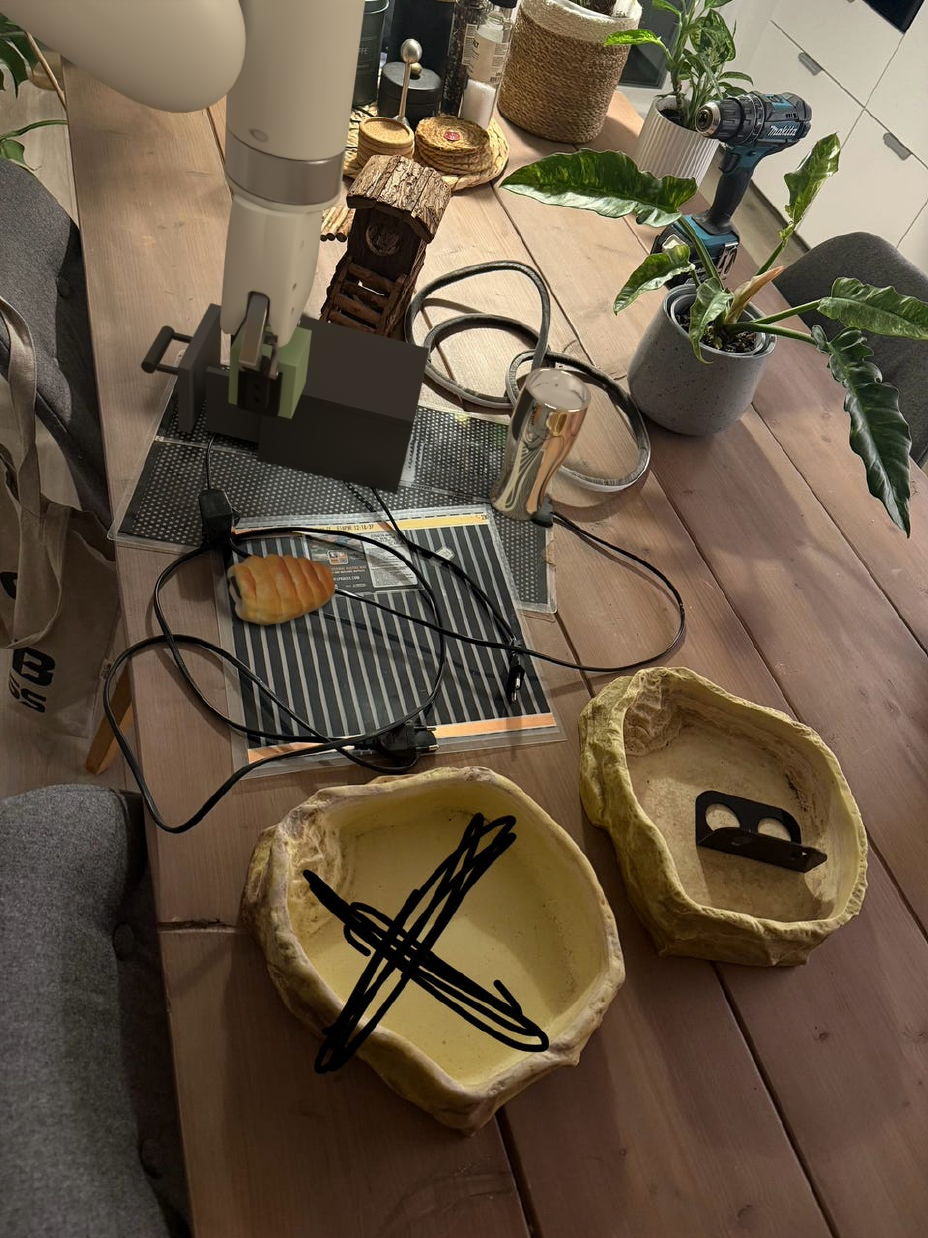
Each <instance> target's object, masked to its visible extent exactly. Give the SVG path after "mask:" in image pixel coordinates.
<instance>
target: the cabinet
mask: <svg viewBox="0 0 928 1238" xmlns="http://www.w3.org/2000/svg"><path fill="white" fill-rule="evenodd" d="M299 327H300V328H304V329H307V330H311V331H312V332H311V341H310V349H309V358H308V366H307V375H306V383H305V385H304V388H303V390H302V393H301V395H300V398H299V401H298V403H297V406H296V408H295V411H294V413H293V416H292V418H291V419H290V418H286V417H282V416H277V417H274V418H273V417H269V416H265V415H261V420H260V434H259V443H258V448H257V449H258V450H257V461H258V462H263V463H267V464H271V465H276V466H278V467H284V468H287V469H292V470H297V471H301V472H305V473H309V474H313V475H317V476H320V477H325V478H329V479H333V480H337V481H341V482H342V481H343V482H345V483H346V482H347V483H351V484H355V485H359V486H363V487H367V488H371V489H376V490H379V491H384V492H387V493H392V494H398V492H399V488H400V483H401V479H402V475H403V472H404V466H405V462H406V459H407V454H408V450H409V445H410V441H411V439H412V434H413V429H414V424H415V420H416V415H417V411H418V406H419V401H420V397H421V391H422V388H423V387H422V386H423V383H424V382H423V381H424V377H425V373H426V367H427V362H428V358H429V352H430V348H429V347H425V346H421V345H418V344H413V343H410V342H406V341H403V340H398V339H395V338H391V337H387V336H383V335H379V334H375V333H372V332H368V331H364V330H361V329H356V328H352V327H348V326H344V325H342V324H341V325H340V324H337V323H333V322H329V321H325V320H321V319H318V318H314V317H310V316H306V315H302V314H301V321H300V325H299Z"/></svg>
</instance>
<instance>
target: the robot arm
mask: <svg viewBox="0 0 928 1238" xmlns="http://www.w3.org/2000/svg"><path fill="white" fill-rule="evenodd" d="M365 5H366V0H0V14H2V15H3V16H4V17H6V18H7V19H8V20H10V21H11V22H12V23H14V24H15V25H16V26H18V27H19V28H21V29H22V30H23V31H25V32H26V33H27V34H28V35H30V36H32V37H33V38H34V39H36V40H38V41H39V42H41V43H42V44H43V45H45V46H46V47H48V48H50V49H51V50H52V51H54V52H55V53H57V54H59V55H60V56H61V57H63V58H65V59H66V60H68V61H69V62H71V63H72V64H73V65H75V66H76V67H78V68H79V69H81V70H82V71H84V72H86V73H87V74H89V75H90V76H91V77H93V78H94V79H96V80H98V81H99V82H101V83H102V84H104V85H105V86H106V87H108V88H110V89H111V90H113V91H114V92H117V93H118V94H120V95H121V96H124V97H126V98H128V99H129V100H131V101H133V102H135V103H137V104H140V105H143V106H145V107H148V108H150V109H153V110H155V111H160V112H166V113H169V114H170V113H171V114H189V113H193V112H194V113H195V112H199V111H203V110H205V109H207V108H210V107H211V106H214V105H216V104H217V103H218V102H220V100H222V99H223V98H225V129H224V130H225V131H224V132H225V135H224V137H225V138H224V174H223V175H224V180H225V182H226V183H227V185H228V186H229V188H230V189H231V190H232V191H233V196H232V202H231V206H230V207H231V208H230V212H229V219H228V226H227V234H226V241H225V251H224V252H225V253H224V261H223V263H224V264H223V275H222V288H221V289H222V290H221V304H220V306H221V316H220V327H221V332H222V333H223V334H225V335H230V336H231V335H235V333H236V332H237V330H238V328H239V327H240V325H241V323H242V321H243V320H244V325H243V333H242V342H241V350H240V355H239V360H238V365H239V369H238V391H237V406H238V407H239V408H240V409H242V410H246V411H250V412H254V413H258V414H261V415H265V416H269V417H273V418H274V417H277V416H278V413H279V410H280V399H281V388H282V377H283V373H282V372H279V366H280V359H281V352H282V347H283V346H285V345H286V344H288V342H289V341H290V339H291V337H292V335H293V332H294V330H295V328H296V327H299V325H300V321H301V315H302V314H303V312H304V310H305V308H306V305H307V303H308V300H309V298H310V295H311V292H312V289H313V287H314V282H315V277H316V272H317V266H318V261H319V251H320V246H321V245H320V244H321V236H322V226H323V215H324V211H327V210H329V209H331V208H332V207H334V206H335V205H336V204H338V202H339V200H340V198H341V193H342V184H343V176H344V169H345V168H344V167H345V161H346V153H347V146H348V138H349V131H350V130H349V129H350V123H351V116H352V115H351V114H352V106H353V100H354V99H353V98H354V93H355V92H354V91H355V84H356V75H357V69H358V68H357V67H358V60H359V52H360V44H361V38H362V37H361V35H362V29H363V20H364V14H365ZM267 326H268V327H271V329H272V332H273V333H272V332H268V331H266V328H267ZM263 344H267V345H270V346H272V352H271V360H270V359H269V358H268V356H264V355H263V354H262V347H263Z"/></svg>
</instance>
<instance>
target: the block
mask: <svg viewBox="0 0 928 1238" xmlns="http://www.w3.org/2000/svg"><path fill="white" fill-rule="evenodd" d="M243 325H244V323H243ZM243 325H242V327H241V329H240V331H239V333H238V335H237V337H236V339H235V341H234V343H233V345H232V347H231V349H230V348H229V368H230V370H229V371H230V375H229V403H232V404H236V405H237V391H238V369H239V365H238V360H239V355H240V350H241V342H242V333H243ZM266 331H268V332H272V329H271V327H268V326H267V328H266ZM311 332H312V331H311V330H307V329H304V328H300V327H296V328H295V330H294V332H293V335H292V337H291V339H290V341H289V342H288V344H286V345H285V346H283V347H282V352H281V359H280V366H279V372H282V373H283V377H282V388H281V399H280V410H279V413H278V416H282V417H286V418H290V419H291V418H292V416H293V413H294V411H295V408H296V406H297V403H298V401H299V398H300V395H301V393H302V390H303V388H304V385H305V383H306V375H307V366H308V358H309V349H310V341H311ZM272 333H273V332H272ZM271 352H272V346H270V345H267V344H263V347H262V354H263V355H264V356H268V358H269V359H270V360H271Z"/></svg>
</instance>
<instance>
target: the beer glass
mask: <svg viewBox="0 0 928 1238" xmlns="http://www.w3.org/2000/svg"><path fill="white" fill-rule="evenodd" d="M591 393H592V392H591V391H590V389H589V387H588V386H587V384H586V383H585V382H583V380H581V379H580V378H579V377H578V376H576V375H575V374H573V373H571V372H569V371H567V370H564V369H560V368H556V367H539V368H536V369H535V368H534V369H533V370H532V371H530V372H529V373H528V374H527V375H526V378H525V381H524V383H523V386H522V388H521V390H520V392H519V394H518V396H517V399H516V401H515V403H514V406H513V409H512V412H511V415H510V418H509V422H508V425H507V426H508V427H507V432H506V439H505V446H504V455H503V461H502V466H501V469H500V471H499V474H498V476H497V477H496V479H495V480H494V481H493V483H492V486H491V487H490V488H489V494H488V495H489V496H488V497H489V501H490V503H491V505H492V506H493V508H494V509H495V510H496V511H497V512H498V513H499V514H501V515H503V516H504V517H506V518H508V519H512V520H514V521H515V520H516V521H531V520H534V519H536V518H537V517H539V516H541V515H540V514H542V512H543V510H542V509H544V507H543V506H545V500H546V494H547V491H548V487H549V485H550V483H551V482H552V480H553V478H554V477H555V476H556V474H557V472H558V471H559V469H560V468H561V467H562V465H563V464H564V462H565V461H566V460H567V459H568V456H569V455H570V453H571V452H572V450H573V448H574V446H575V444H576V442H577V440H578V437H579V436H580V433H581V430H582V428H583V425H584V422H585V419H586V416H587V412H588V410H589V406H590V404H591V401H592V394H591ZM541 511H542V512H541Z"/></svg>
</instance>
